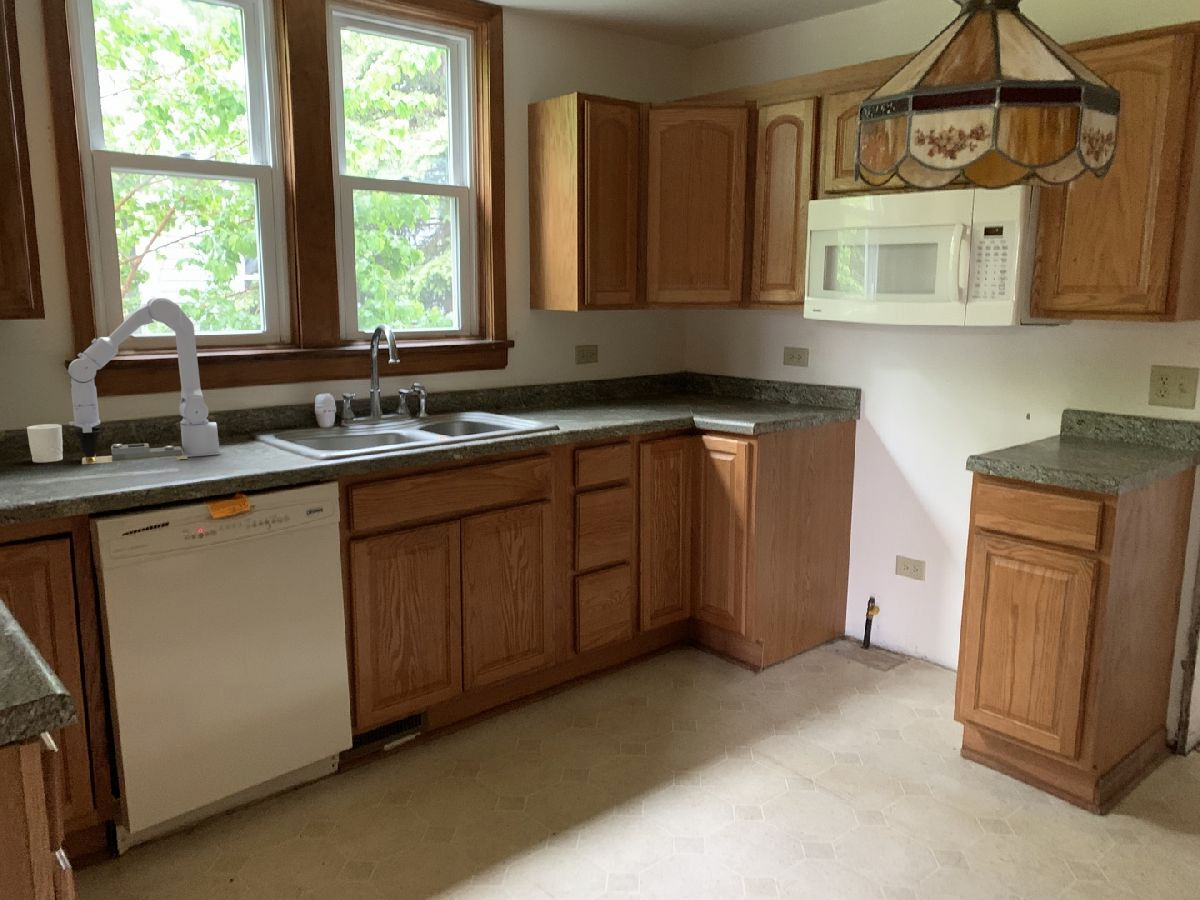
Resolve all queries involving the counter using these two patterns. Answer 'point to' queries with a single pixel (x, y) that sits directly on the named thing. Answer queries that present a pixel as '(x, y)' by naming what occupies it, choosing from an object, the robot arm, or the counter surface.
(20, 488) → the counter surface
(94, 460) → the brass knob
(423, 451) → the counter surface
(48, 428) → the white cup
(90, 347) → the robot arm
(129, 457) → the door lock with knob
